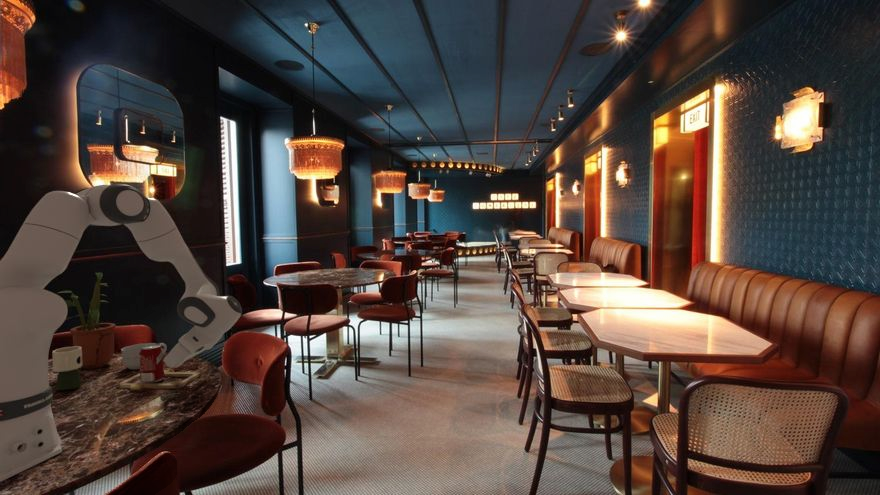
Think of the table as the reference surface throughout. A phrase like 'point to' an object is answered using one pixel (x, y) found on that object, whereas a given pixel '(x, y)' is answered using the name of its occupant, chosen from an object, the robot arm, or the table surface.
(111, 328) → the potted plant
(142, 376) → the soda can
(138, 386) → the wooden rectangular frame
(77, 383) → the character mug
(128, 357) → the teacup
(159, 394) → the table surface
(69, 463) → the table surface
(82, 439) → the table surface
